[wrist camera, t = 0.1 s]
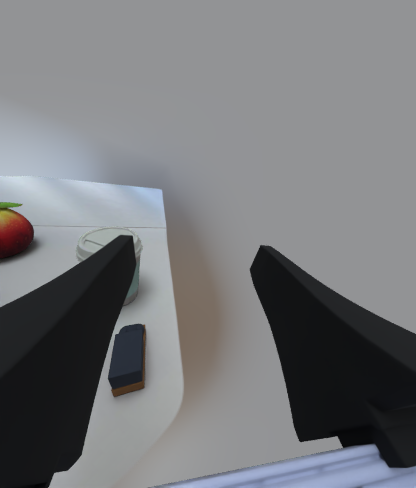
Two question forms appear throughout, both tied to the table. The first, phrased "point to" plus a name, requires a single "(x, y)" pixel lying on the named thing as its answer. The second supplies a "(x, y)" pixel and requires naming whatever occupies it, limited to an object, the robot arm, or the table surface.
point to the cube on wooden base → (128, 360)
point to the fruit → (13, 231)
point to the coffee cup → (103, 236)
